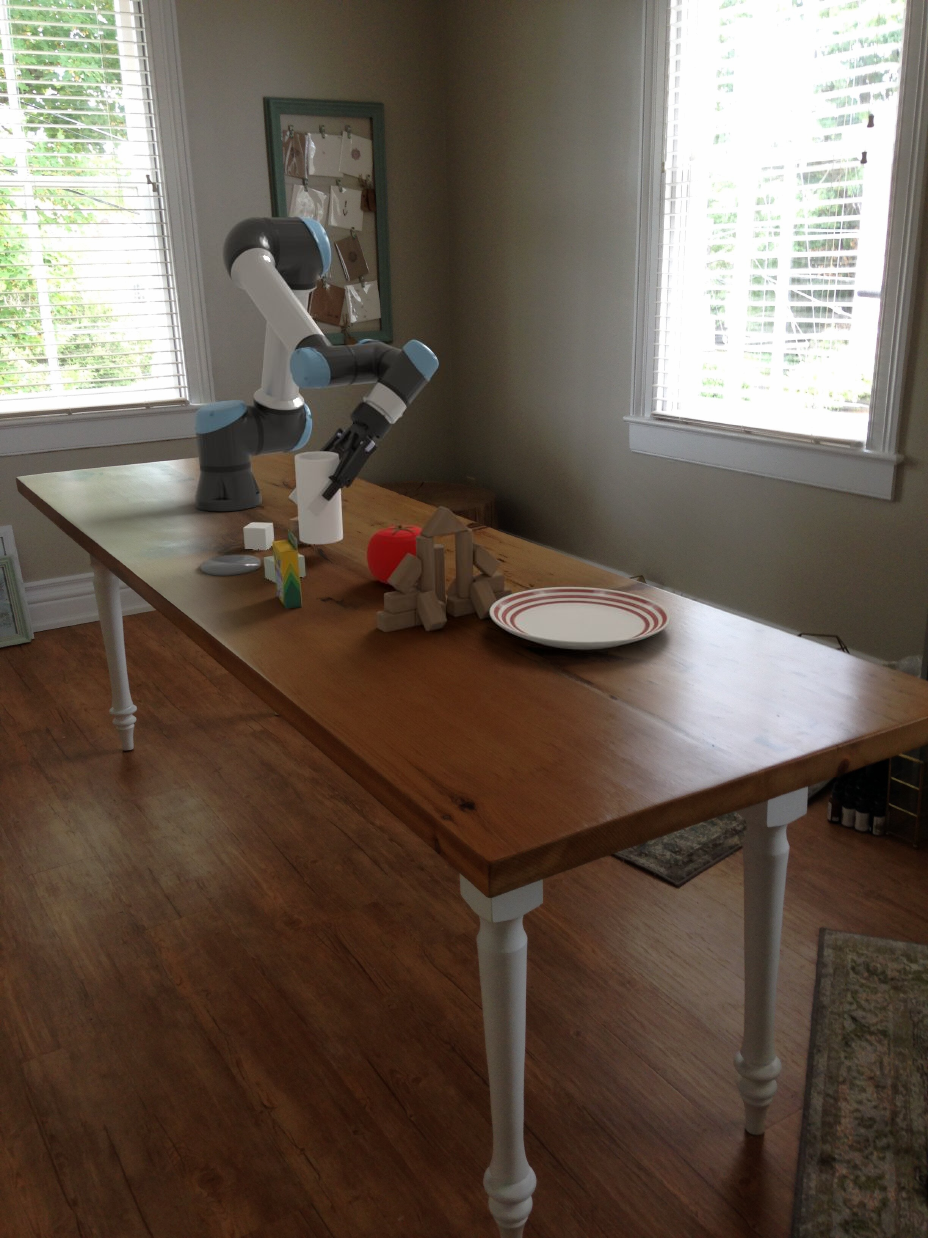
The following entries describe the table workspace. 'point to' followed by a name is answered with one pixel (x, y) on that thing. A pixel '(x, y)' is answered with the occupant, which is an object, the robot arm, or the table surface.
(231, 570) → the coaster
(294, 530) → the walnut block
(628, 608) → the dinner plate
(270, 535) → the off-white plastic block
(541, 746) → the table surface
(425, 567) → the wooden blocks
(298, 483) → the cup
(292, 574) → the crayon box
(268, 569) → the sage painted block
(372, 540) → the tomato
